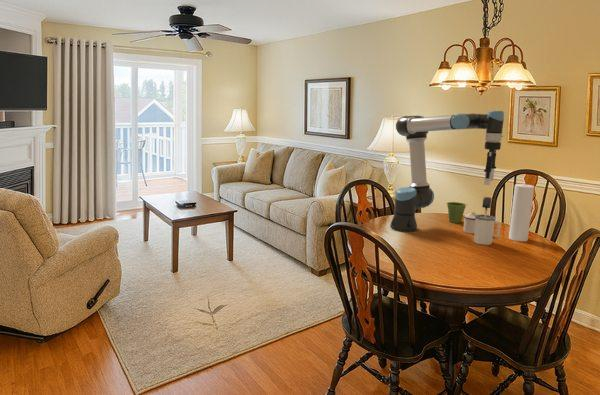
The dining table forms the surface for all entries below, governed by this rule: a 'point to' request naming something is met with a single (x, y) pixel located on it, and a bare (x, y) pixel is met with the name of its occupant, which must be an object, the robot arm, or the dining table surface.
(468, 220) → the teacup with lid
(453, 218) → the plant pot
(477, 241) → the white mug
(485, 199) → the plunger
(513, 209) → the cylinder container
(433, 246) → the dining table surface
